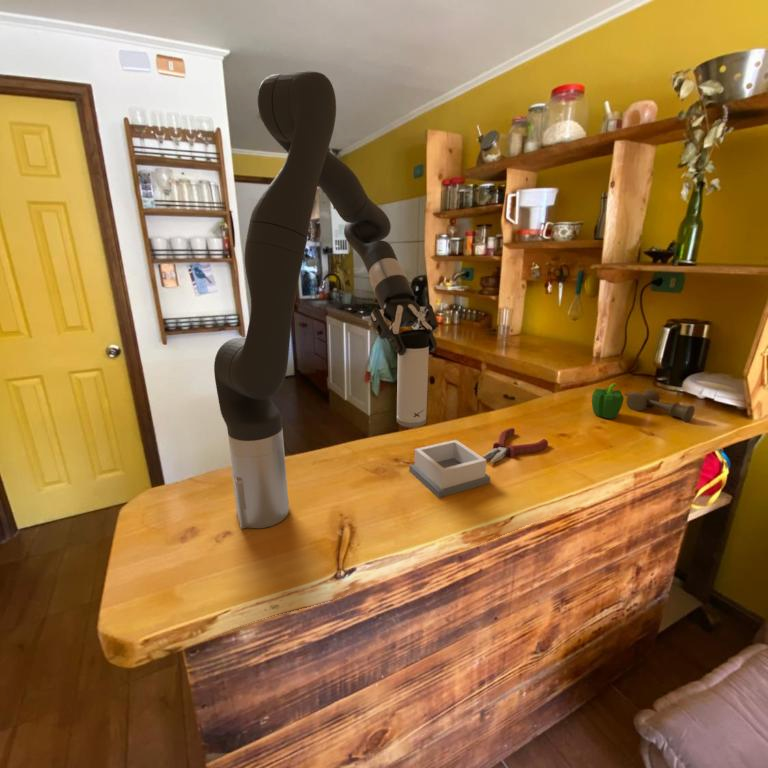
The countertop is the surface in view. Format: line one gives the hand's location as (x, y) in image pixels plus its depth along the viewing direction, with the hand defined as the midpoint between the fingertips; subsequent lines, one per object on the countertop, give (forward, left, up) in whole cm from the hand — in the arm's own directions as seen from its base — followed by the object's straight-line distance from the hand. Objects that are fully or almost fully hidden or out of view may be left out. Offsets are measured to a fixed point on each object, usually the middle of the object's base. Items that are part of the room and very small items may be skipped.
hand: (418, 351), depth 82 cm
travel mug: (0, +2, -16) cm, 16 cm away
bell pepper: (+70, +6, -29) cm, 76 cm away
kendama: (+87, +2, -29) cm, 92 cm away
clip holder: (+7, -3, -28) cm, 29 cm away
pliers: (+28, +3, -29) cm, 41 cm away
